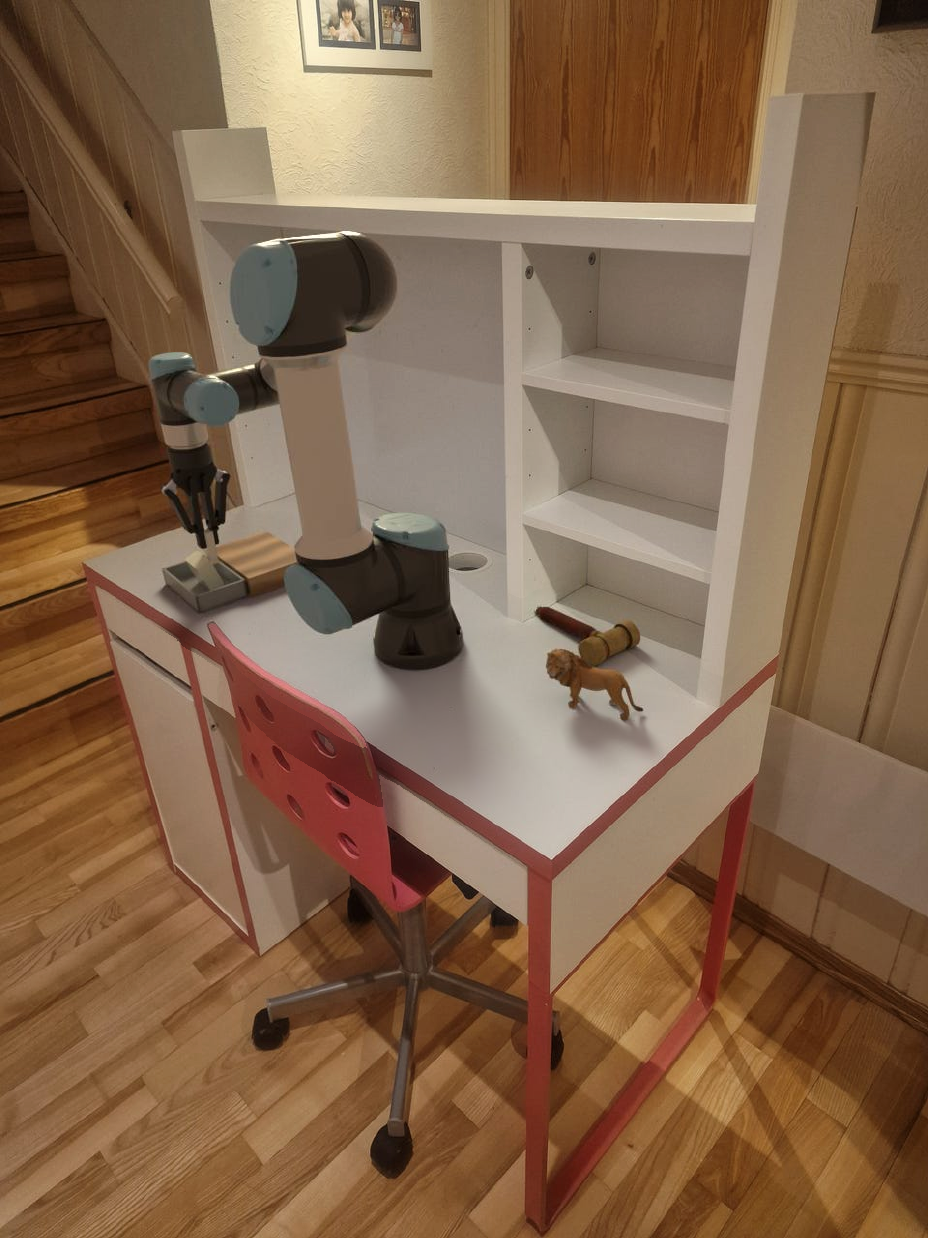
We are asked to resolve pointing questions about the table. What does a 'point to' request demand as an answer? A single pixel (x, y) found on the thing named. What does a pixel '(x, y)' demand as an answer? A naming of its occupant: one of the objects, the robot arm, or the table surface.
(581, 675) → the lion figurine
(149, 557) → the table surface
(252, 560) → the board
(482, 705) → the table surface
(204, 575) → the block
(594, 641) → the gavel
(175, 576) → the tray
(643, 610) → the table surface
